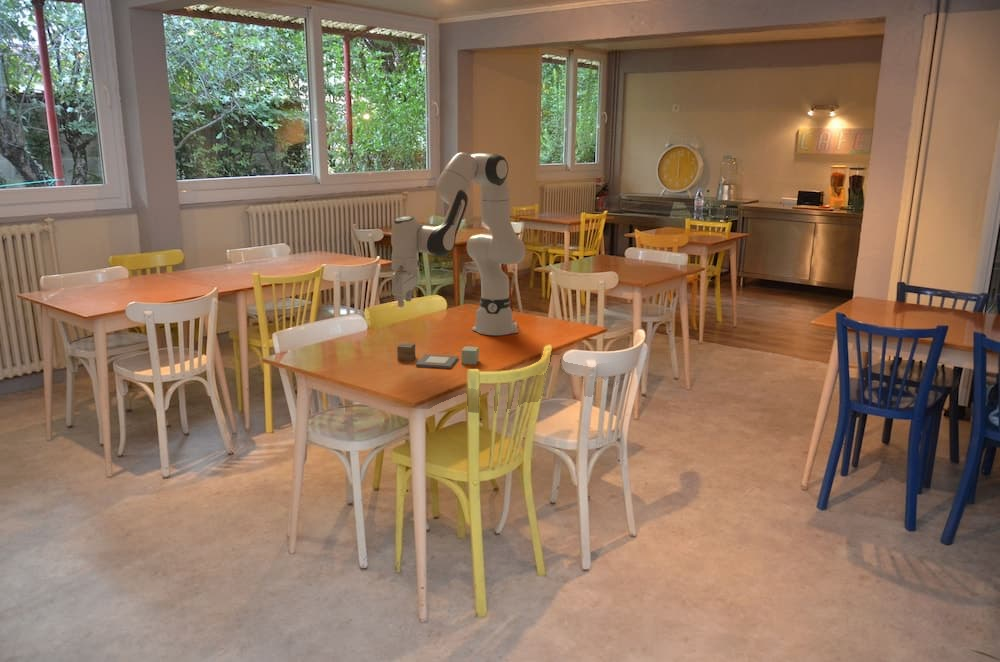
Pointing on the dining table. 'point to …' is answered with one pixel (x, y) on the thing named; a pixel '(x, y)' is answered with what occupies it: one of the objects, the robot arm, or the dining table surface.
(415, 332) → the dining table surface
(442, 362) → the base plate
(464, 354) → the sage block
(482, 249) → the robot arm
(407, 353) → the walnut block
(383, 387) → the dining table surface
